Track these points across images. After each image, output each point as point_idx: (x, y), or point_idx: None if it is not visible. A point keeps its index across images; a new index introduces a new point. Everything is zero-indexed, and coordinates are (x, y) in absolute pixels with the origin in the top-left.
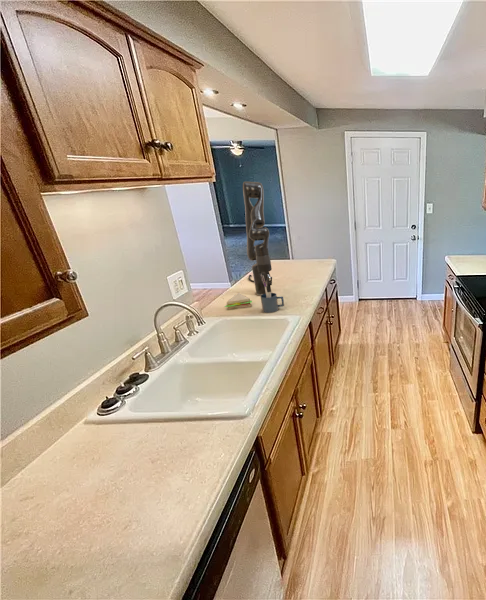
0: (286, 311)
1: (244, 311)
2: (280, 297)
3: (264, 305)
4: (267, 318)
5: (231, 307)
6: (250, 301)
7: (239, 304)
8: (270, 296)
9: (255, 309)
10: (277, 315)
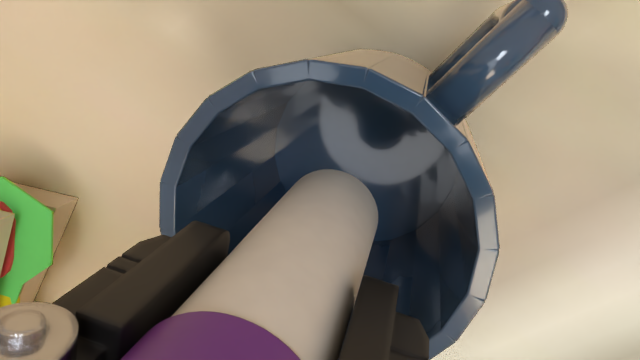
0: (621, 61)
1: None
2: (526, 60)
3: None
4: (569, 349)
5: None
6: (17, 203)
7: None
8: (373, 229)
9: None
10: (614, 230)
